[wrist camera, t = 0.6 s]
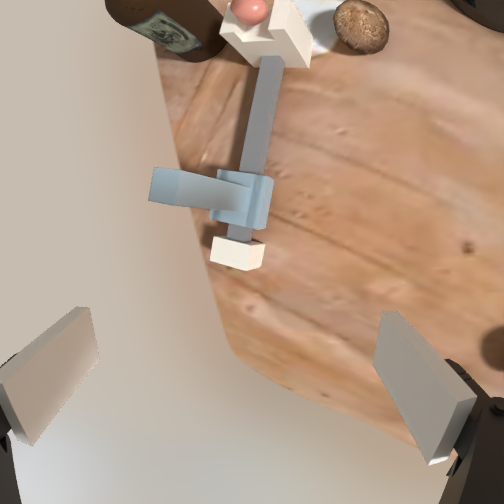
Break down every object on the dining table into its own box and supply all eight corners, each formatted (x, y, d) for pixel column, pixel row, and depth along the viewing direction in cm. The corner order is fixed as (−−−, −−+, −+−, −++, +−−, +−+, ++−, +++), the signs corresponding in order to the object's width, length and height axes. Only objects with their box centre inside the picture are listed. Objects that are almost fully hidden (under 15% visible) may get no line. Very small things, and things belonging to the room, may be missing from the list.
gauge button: (243, 4, 29) (233, -7, 26) (271, 2, 27) (263, -10, 25) (237, 27, 29) (226, 16, 27) (266, 25, 28) (257, 13, 26)
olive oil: (186, 19, 43) (84, -52, 21) (240, 10, 39) (141, -85, 17) (171, 69, 45) (50, 7, 22) (226, 63, 41) (104, -25, 18)
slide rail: (260, 39, 39) (228, 2, 29) (313, 39, 36) (291, -3, 26) (217, 254, 44) (171, 261, 34) (271, 269, 40) (235, 281, 31)
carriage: (231, 173, 40) (142, 147, 25) (278, 180, 38) (203, 151, 23) (223, 219, 41) (130, 216, 26) (269, 229, 39) (189, 230, 24)
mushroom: (310, 23, 32) (330, 2, 26) (348, 5, 33) (371, -14, 27) (347, 70, 35) (374, 56, 29) (382, 48, 35) (409, 35, 29)
